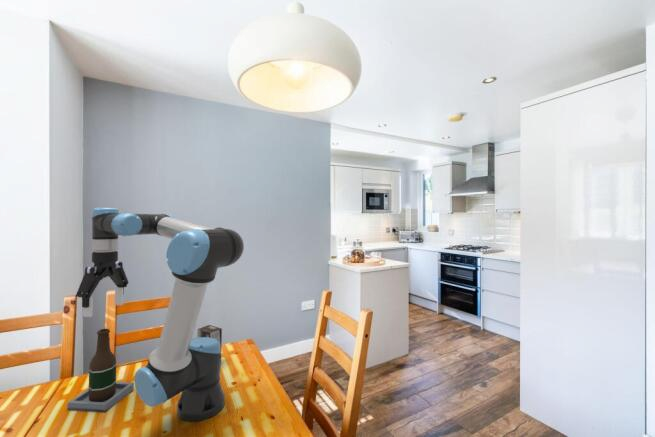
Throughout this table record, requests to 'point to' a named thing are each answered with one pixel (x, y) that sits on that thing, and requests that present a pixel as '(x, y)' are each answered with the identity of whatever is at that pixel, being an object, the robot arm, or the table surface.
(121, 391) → the tray
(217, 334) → the coffee box
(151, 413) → the table surface
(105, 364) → the beer bottle
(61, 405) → the table surface
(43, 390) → the table surface
